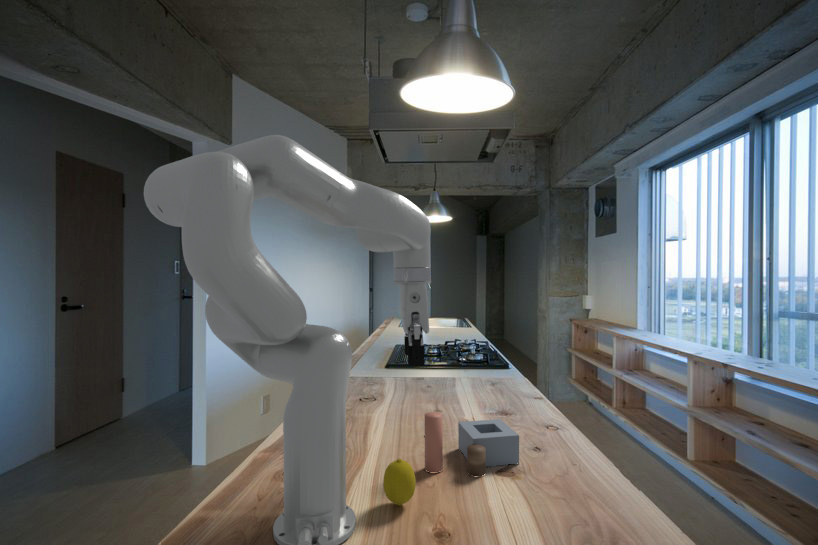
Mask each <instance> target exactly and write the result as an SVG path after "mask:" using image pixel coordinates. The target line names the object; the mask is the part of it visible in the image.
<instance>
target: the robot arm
mask: <svg viewBox="0 0 818 545" xmlns="http://www.w3.org/2000/svg"><path fill="white" fill-rule="evenodd" d="M143 198H144V200H143V201H144V202H145V206H146V208H148V210H149V212H150V213H151V214H152V215H153V216H154V217H155V218H156V219H157V220H159V221H160V222H162V223H163V224H165V225H168V226H170V227H171V226H172V227H178V228H181V246H182V248H181V249H182V255H183V260H184V263H185V266H186V269H187V271H188V273H189V275H190V276H191V278H192V279H193V280H194V282H195V283H196V285H198V286H199V288H200V289H202V291H204V292H205V294H206V295H208V296H207V299H206V301H205V305H204V306H205V307H204V308H205V310H204V315H205V319H206V323H207V325H208V327H209V329H210V331H211V332H212V333H213V335H215V337H217V339H218V340H220V341H221V343H223V344H224V345H225V346H226V347H228V348H229V349H230V351H232V352H233V353H234V354H235V355H237V356H238V358H240V359H241V360H242V361H244V362H245V363H246V364H247V365H248V366H250V367H251V368H252V369H253V370H254V371H256V372H257V373H259V374H260V375H261V376H264V377H266V378H269V379H272V380H275V381H279V382H284V383H287V384H290V385H292V391H291V393H290V395H289V398H288V400H287V402H286V404H285V408H284V412H283V417H282V418H283V422H282V423H283V424H282V431H283V433H282V434H283V511H282V512H281V513H280V514H279V515H278V517H276V519H275V521H274V523H273V527H272V531H273V532H272V534H273V539H274V541H275V542H276V544H278V545H341V544H342V543H344V542H345V541H346V540H347V539H349V538H350V537H351V536H352V534H353V533H354V531H355V530H356V525H357V516H356V513H355V511H354V510H353V508H351V507H350V506H349V505H347V447H346V446H347V432H346V431H347V427H346V425H347V424H346V422H347V421H346V420H347V419H346V418H347V417H346V416H347V415H346V414H347V412H346V410H347V395H348V394H347V393H348V392H347V391H348V385H349V380H350V379H349V378H350V374H351V370H352V362H353V350H352V346H351V343H350V342H349V340H348V338H347V337H346V336H345V335H344V334H343V333H342V332H340V331H339V330H336V329H335V328H332V327H330V326H325V325H319V324H318V325H317V324H311V323H310V324H308V323H307V320H308V314H307V310H306V306H305V304H304V302H303V301H302V299H301V297H300V296H299V294H298V293H297V292H296V291H295V290H294V288H292V287H291V286H290V284H289V283H288V282H287V281H286V280H285V279H284V278H283V277H282V276H281V274H280V273H279V272H278V271H277V270H276V269H275V268H274V266H273V265H272V264H271V263H270V262H269V261H268V260H267V259H266V258H265V256H264V255H263V254H262V252H261V251H260V249H259V248H258V246H257V245H256V243H255V241H254V237H253V234H252V228H251V222H252V221H251V220H252V218H251V217H252V211H253V210H252V209H253V204H254V200H261V199H265V198H266V199H267V198H274V199H277V200H279V201H281V202H282V203H284V204H287V205H289V206H291V207H292V208H295V209H296V210H299V211H300V212H302V213H304V214H306V215H308V216H309V217H311V218H313V219H315V220H317V221H319V222H321V223H323V224H325V225H330V226H335V227H339V228H345V229H346V228H350V229H356V238H357V240H358V242H359V244H360V245H361V246H362V247H363V248H364V249H366V250H368V251H370V252H372V253H373V252H375V253H391V252H393V255H392V256H393V284H394V285H399V292H400V293H399V294H400V295H399V297H400V317H401V324H402V329H403V331H404V334H405V335H404V336H403V337H404V355H405V356H407V366H408V367H424V366H425V363H426V362H425V358H426V357H425V344H424V334H423V333H425V334H426V335H427V334H429V332H430V324H429V322H430V320H429V299H428V289H427V288H428V287H427V285H429V284H432V275H431V274H432V273H431V270H432V269H431V267H432V265H431V235H432V234H431V231H432V230H431V228H432V227H431V225H430V220H429V218H428V216H427V215H426V213H425V212H424V211H422V209H421V208H420V207H418V205H416V204H414V202H412V201H411V200H409V199H408V198H406V197H405V196H403V195H402V194H399V193H397V192H394V191H393V190H389V189H386V188H383V187H380V186H377V185H374V184H371V183H367V182H364V181H361V180H357V179H354V178H351V177H349V176H347V175H345V174H343V173H342V172H341V171H340V170H338V169H336V168H335V167H333V166H332V165H330V163H328V162H326V161H324V160H323V159H322V158H320V157H319V156H318V155H316V154H314V153H313V152H311V151H310V150H308V149H307V148H306V147H304V146H303V145H301V143H298V142H297V141H295V140H294V139H291V138H290V137H288V136H285V135H281V134H271V135H265V136H262V137H258V138H254V139H252V140H248V141H246V142H242V143H238V144H236V145H234V146H233V145H232V146H229V147H227V148H224V149H221V150H218V151H209V152H203V153H199V154H195V155H191V156H189V157H186V158H182V159H180V160H176V161H174V162H170V163H167V164H164V165H161V166H159V167H157V168H156V169H155V170H153V171H152V172H151V173H150V174H149V176H148V177H147V179H146V180H145V183H144V186H143Z"/></svg>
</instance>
